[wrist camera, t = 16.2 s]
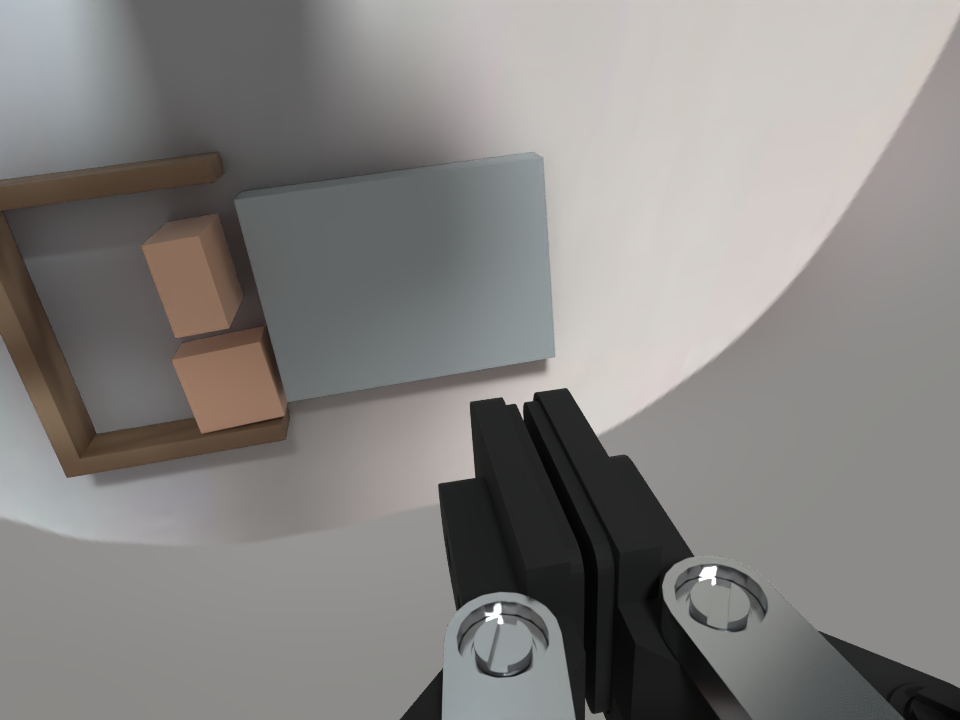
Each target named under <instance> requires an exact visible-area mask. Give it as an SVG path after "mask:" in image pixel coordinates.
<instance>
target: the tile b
mask: <svg viewBox="0 0 960 720" xmlns="http://www.w3.org/2000/svg"><path fill="white" fill-rule="evenodd" d="M171 361H172V363H173V366H174V368H175V371H176V373H177V375H178V378H179V380H180V383H181V385H182V388H183V390H184V392H185V395H186V397H187V400H188V402H189V405H190V407H191V410H192V412H193V414H194V417H195V419H196V422H197V424H198V427H199V429H200V432H201V434H204V433H208V432H213V431H218V430H222V429H227V428H231V427H236V426H240V425H245V424H250V423H254V422H259V421H263V420H268V419H273V418H277V417H282V416H285V412H286V407H287V399H286V395H285V391H284V387H283V384H282V380H281V376H280V372H279V369H278V365H277V361H276V357H275V354H274V351H273V348H272V345H271V342H270V339H269V336H268V333H267V330H266V326H261V327H256V328H251V329H247V330H242V331H237V332H232V333H227V334H223V335H218V336H213V337H208V338H203V339H199V340H194V341H189V342H184V343H182V344H181V345H180V347H179V348H178V350H177V352H176V353H175V355H174V357H173V358H172V360H171Z"/></svg>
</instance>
